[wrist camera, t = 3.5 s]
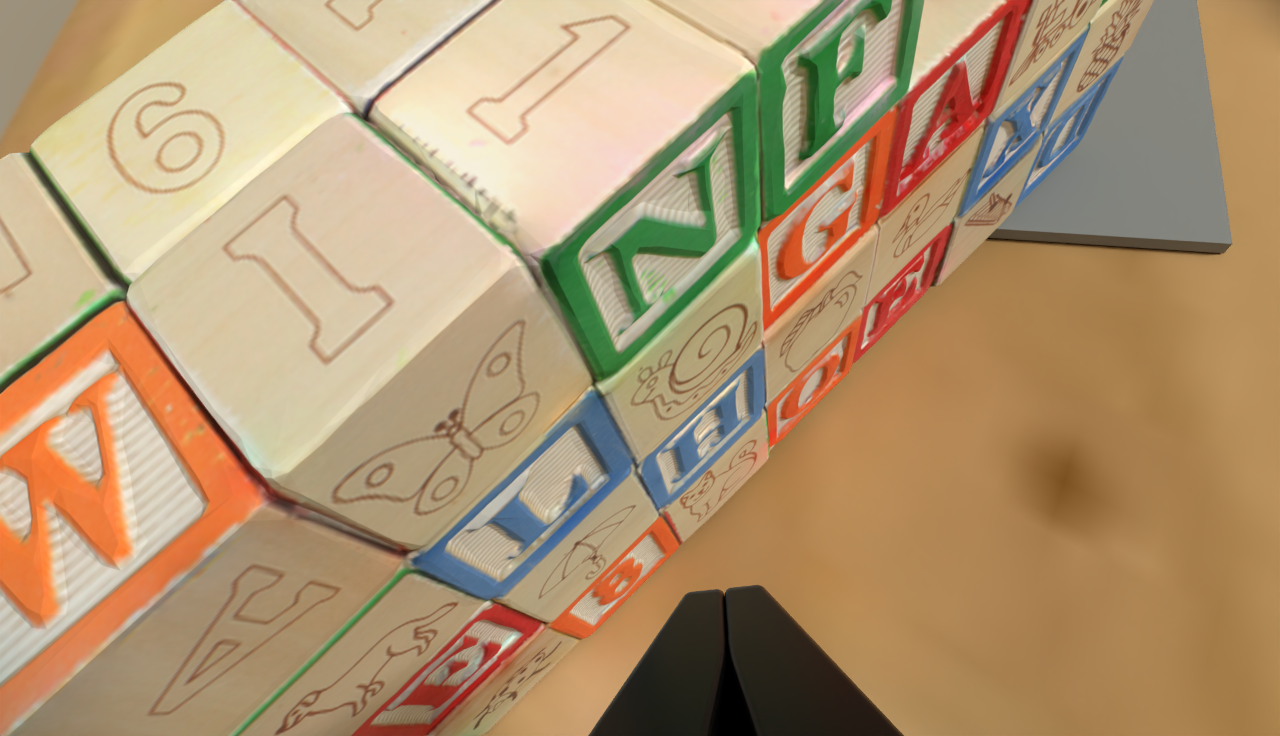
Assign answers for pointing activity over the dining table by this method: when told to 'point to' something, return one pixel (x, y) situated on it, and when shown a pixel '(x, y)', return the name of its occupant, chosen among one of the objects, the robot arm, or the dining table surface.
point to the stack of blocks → (459, 325)
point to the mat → (1141, 154)
